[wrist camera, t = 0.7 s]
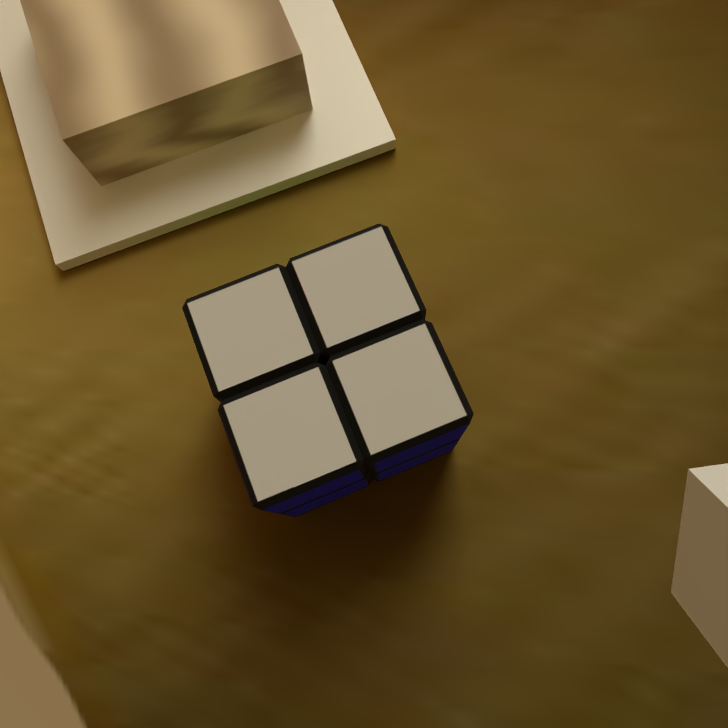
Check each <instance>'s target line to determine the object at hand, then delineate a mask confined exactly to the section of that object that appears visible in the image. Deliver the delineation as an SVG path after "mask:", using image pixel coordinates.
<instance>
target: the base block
mask: <svg viewBox="0 0 728 728" xmlns="http://www.w3.org/2000/svg"><path fill="white" fill-rule="evenodd" d="M20 2H21V5H22V9H23V12H24V15H25V18H26V22H27V25H28V28H29V32H30V35H31V38H32V42H33V45H34V48H35V51H36V55H37V58H38V61H39V65H40V68H41V71H42V74H43V78H44V81H45V84H46V88H47V91H48V94H49V98H50V101H51V104H52V107H53V111H54V114H55V117H56V121H57V124H58V127H59V131H60V134H61V137H62V140H63V141H64V142H65V144H66V145H67V146H68V147H69V148H70V150H71V151H72V152H73V153H74V154H75V156H76V157H77V158H78V159H79V160H80V162H81V163H82V164H83V165H84V166H85V167H86V169H87V170H88V171H89V172H90V173H91V175H92V176H93V177H94V178H95V179H96V181H97V182H98V183H99V184H100V185H101V186H104V185H106V184H109V183H112V182H115V181H117V180H120V179H123V178H126V177H128V176H131V175H134V174H137V173H139V172H142V171H145V170H148V169H150V168H153V167H156V166H159V165H161V164H164V163H167V162H170V161H172V160H175V159H178V158H181V157H183V156H186V155H189V154H192V153H194V152H197V151H200V150H203V149H205V148H208V147H211V146H213V145H216V144H219V143H222V142H224V141H227V140H230V139H233V138H235V137H238V136H241V135H244V134H246V133H249V132H252V131H255V130H257V129H260V128H263V127H266V126H268V125H271V124H274V123H277V122H279V121H282V120H285V119H288V118H290V117H293V116H296V115H299V114H301V113H304V112H307V111H310V110H312V109H313V107H312V102H311V97H310V91H309V86H308V81H307V76H306V71H305V65H304V60H303V55H302V52H301V50H300V47H299V45H298V43H297V40H296V38H295V36H294V33H293V31H292V29H291V26H290V24H289V22H288V19H287V17H286V15H285V12H284V10H283V8H282V6H281V3H280V1H279V0H20Z"/></svg>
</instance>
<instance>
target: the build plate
mask: <svg viewBox="0 0 728 728" xmlns="http://www.w3.org/2000/svg"><path fill="white" fill-rule="evenodd" d="M279 1H280V3H281V6H282V8H283V10H284V12H285V15H286V17H287V19H288V22H289V24H290V26H291V29H292V31H293V33H294V36H295V38H296V40H297V43H298V45H299V47H300V50H301V52H302V55H303V60H304V65H305V71H306V76H307V81H308V86H309V91H310V97H311V102H312V107H313V109H312V110H310V111H307V112H304V113H301V114H299V115H296V116H293V117H290V118H288V119H285V120H282V121H279V122H277V123H274V124H271V125H268V126H266V127H263V128H260V129H257V130H255V131H252V132H249V133H246V134H244V135H241V136H238V137H235V138H233V139H230V140H227V141H224V142H222V143H219V144H216V145H213V146H211V147H208V148H205V149H203V150H200V151H197V152H194V153H192V154H189V155H186V156H183V157H181V158H178V159H175V160H172V161H170V162H167V163H164V164H161V165H159V166H156V167H153V168H150V169H148V170H145V171H142V172H139V173H137V174H134V175H131V176H128V177H126V178H123V179H120V180H117V181H115V182H112V183H109V184H106V185H104V186H101V185H100V184H99V183H98V182H97V181H96V179H95V178H94V177H93V176H92V175H91V173H90V172H89V171H88V170H87V169H86V167H85V166H84V165H83V164H82V163H81V162H80V160H79V159H78V158H77V157H76V156H75V154H74V153H73V152H72V151H71V150H70V148H69V147H68V146H67V145H66V144H65V142H64V141H63V140H62V137H61V134H60V131H59V127H58V124H57V121H56V117H55V114H54V111H53V107H52V104H51V101H50V98H49V94H48V91H47V88H46V84H45V81H44V78H43V74H42V71H41V68H40V65H39V61H38V58H37V55H36V51H35V48H34V45H33V42H32V38H31V35H30V32H29V28H28V25H27V22H26V18H25V15H24V12H23V9H22V5H21V2H20V0H0V71H1V75H2V78H3V82H4V85H5V89H6V92H7V96H8V100H9V103H10V107H11V110H12V114H13V117H14V121H15V124H16V128H17V131H18V135H19V138H20V142H21V145H22V149H23V152H24V156H25V159H26V163H27V166H28V170H29V174H30V177H31V181H32V184H33V188H34V191H35V195H36V198H37V202H38V205H39V209H40V212H41V216H42V219H43V223H44V226H45V230H46V233H47V237H48V240H49V244H50V248H51V251H52V255H53V258H54V262H55V265H56V266H58V267H59V268H60V269H61V270H63V271H65V270H68V269H71V268H73V267H76V266H79V265H82V264H84V263H87V262H90V261H92V260H95V259H98V258H101V257H103V256H106V255H109V254H111V253H114V252H117V251H119V250H122V249H125V248H128V247H130V246H133V245H136V244H138V243H141V242H144V241H146V240H149V239H152V238H155V237H157V236H160V235H163V234H165V233H168V232H171V231H174V230H176V229H179V228H182V227H184V226H187V225H190V224H192V223H195V222H198V221H201V220H203V219H206V218H209V217H211V216H214V215H217V214H219V213H222V212H225V211H228V210H230V209H233V208H236V207H238V206H241V205H244V204H247V203H249V202H252V201H255V200H257V199H260V198H263V197H265V196H268V195H271V194H274V193H276V192H279V191H282V190H284V189H287V188H290V187H292V186H295V185H298V184H301V183H303V182H306V181H309V180H311V179H314V178H317V177H320V176H322V175H325V174H328V173H330V172H333V171H336V170H338V169H341V168H344V167H347V166H349V165H352V164H355V163H357V162H360V161H363V160H366V159H368V158H371V157H374V156H376V155H379V154H382V153H384V152H387V151H390V150H393V149H395V148H396V139H395V137H394V134H393V132H392V130H391V128H390V126H389V124H388V121H387V119H386V117H385V115H384V113H383V110H382V108H381V106H380V104H379V102H378V100H377V97H376V95H375V93H374V91H373V89H372V86H371V84H370V82H369V80H368V78H367V75H366V73H365V71H364V69H363V67H362V65H361V62H360V60H359V58H358V56H357V54H356V51H355V49H354V47H353V45H352V43H351V40H350V38H349V36H348V34H347V32H346V30H345V27H344V25H343V23H342V21H341V19H340V16H339V14H338V12H337V10H336V8H335V5H334V3H333V1H332V0H279Z"/></svg>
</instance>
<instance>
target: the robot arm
mask: <svg viewBox="0 0 728 728" xmlns="http://www.w3.org/2000/svg"><path fill="white" fill-rule="evenodd" d="M671 593H672V594H673V596H674V597H675V598H676V600H677V601H678V602H679V604H680V605H681V606H682V608H683V609H684V610H685V612H686V613H687V614H688V616H689V617H690V618H691V620H692V621H693V622H694V624H695V625H696V626H697V628H698V629H699V630H700V632H701V633H702V634H703V636H704V637H705V638H706V640H707V641H708V642H709V644H710V645H711V646H712V648H713V649H714V650H715V652H716V653H717V654H718V656H719V657H720V658H721V660H722V661H723V662H724V664H725V665H726V666H727V668H728V463H727V464H720V465H713V466H706V467H699V468H692V469H688V474H687V481H686V489H685V496H684V503H683V510H682V517H681V524H680V531H679V538H678V546H677V553H676V560H675V567H674V574H673V581H672V588H671Z"/></svg>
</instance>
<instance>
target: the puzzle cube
mask: <svg viewBox="0 0 728 728" xmlns="http://www.w3.org/2000/svg"><path fill="white" fill-rule="evenodd" d="M182 309H183V312H184V315H185V317H186V320H187V323H188V326H189V329H190V331H191V334H192V337H193V340H194V343H195V345H196V348H197V351H198V354H199V357H200V359H201V362H202V365H203V368H204V371H205V373H206V376H207V379H208V382H209V385H210V388H211V390H212V393H213V396H214V397H215V398H217V399H218V400H219V401H220V402H221V404H220V406H219V408H218V412H219V415H220V417H221V420H222V423H223V426H224V429H225V431H226V434H227V437H228V440H229V443H230V446H231V448H232V451H233V454H234V457H235V460H236V462H237V465H238V468H239V471H240V474H241V476H242V479H243V482H244V485H245V488H246V490H247V493H248V496H249V499H250V502H251V505H252V506H254V507H256V508H258V509H260V510H264V511H269V512H274V513H279V514H280V513H281V514H284V515H289V516H294V517H296V516H298V515H300V514H303V513H305V512H308V511H310V510H312V509H315V508H317V507H319V506H322V505H324V504H327V503H329V502H331V501H334V500H336V499H338V498H341V497H343V496H346V495H348V494H350V493H353V492H355V491H357V490H360V489H362V488H365V487H367V486H369V484H370V481H371V479H372V478H373V479H375V480H377V481H381V480H383V479H386V478H388V477H391V476H393V475H395V474H398V473H400V472H402V471H405V470H407V469H410V468H412V467H414V466H417V465H419V464H421V463H424V462H426V461H429V460H431V459H433V458H436V457H438V456H440V455H443V454H445V453H448V452H450V451H452V450H453V448H454V447H455V445H456V444H457V442H458V441H459V439H460V437H461V436H462V434H463V433H464V431H465V430H466V428H467V427H468V425H469V424H470V421H471V419H472V416H473V411H472V409H471V407H470V405H469V403H468V401H467V398H466V396H465V394H464V392H463V390H462V388H461V385H460V383H459V381H458V379H457V377H456V375H455V372H454V370H453V368H452V366H451V364H450V362H449V359H448V357H447V355H446V353H445V351H444V348H443V346H442V344H441V342H440V340H439V338H438V335H437V333H436V331H435V329H434V327H433V325H432V323H431V322H428V321H425V315H426V309H425V306H424V304H423V302H422V300H421V298H420V295H419V293H418V291H417V289H416V287H415V285H414V282H413V280H412V278H411V276H410V274H409V272H408V269H407V267H406V265H405V263H404V261H403V259H402V256H401V254H400V252H399V250H398V248H397V246H396V243H395V241H394V239H393V237H392V235H391V233H390V230H389V228H388V227H387V226H384V225H381V224H376V225H374V226H371V227H369V228H366V229H364V230H361V231H359V232H356V233H354V234H351V235H348V236H346V237H343V238H341V239H338V240H336V241H333V242H331V243H328V244H326V245H323V246H320V247H318V248H315V249H313V250H310V251H308V252H305V253H303V254H300V255H298V256H295V257H292V258H290V260H289V262H288V264H287V266H286V267H284V266H282V265H279V264H275V265H273V266H270V267H268V268H265V269H263V270H260V271H258V272H255V273H252V274H250V275H247V276H245V277H242V278H240V279H237V280H235V281H232V282H230V283H227V284H224V285H222V286H219V287H217V288H214V289H212V290H209V291H207V292H204V293H202V294H199V295H196V296H194V297H191V298H189V299H187V300H186V302H185V304H184V306H183V308H182Z"/></svg>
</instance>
